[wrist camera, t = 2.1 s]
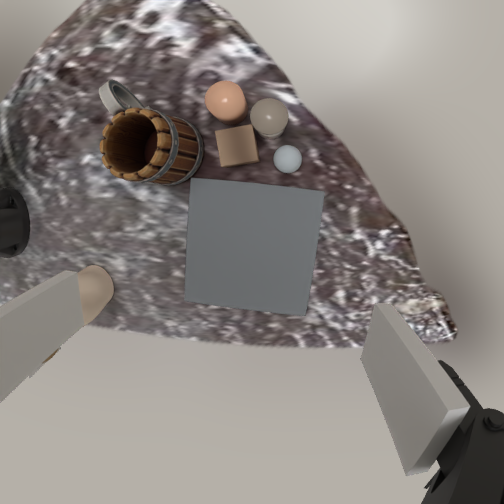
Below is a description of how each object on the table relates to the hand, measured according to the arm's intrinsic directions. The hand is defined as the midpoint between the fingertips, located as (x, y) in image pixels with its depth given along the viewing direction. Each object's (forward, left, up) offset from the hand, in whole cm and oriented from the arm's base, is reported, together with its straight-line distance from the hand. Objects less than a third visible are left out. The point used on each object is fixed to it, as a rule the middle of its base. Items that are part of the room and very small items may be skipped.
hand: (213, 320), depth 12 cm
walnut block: (-4, +10, -35) cm, 36 cm away
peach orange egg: (-6, +16, -34) cm, 38 cm away
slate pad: (-1, -5, -34) cm, 35 cm away
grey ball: (+3, +9, -32) cm, 34 cm away
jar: (0, +14, -34) cm, 37 cm away
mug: (-16, +11, -35) cm, 39 cm away
